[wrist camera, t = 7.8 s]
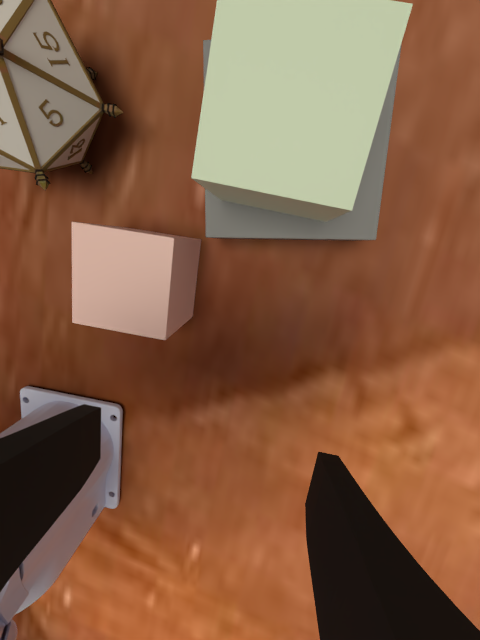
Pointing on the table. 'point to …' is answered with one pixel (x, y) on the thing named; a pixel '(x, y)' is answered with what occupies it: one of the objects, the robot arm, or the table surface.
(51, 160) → the game die
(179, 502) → the table surface
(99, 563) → the table surface
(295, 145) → the sage cube
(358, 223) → the base block
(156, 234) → the rose cube
